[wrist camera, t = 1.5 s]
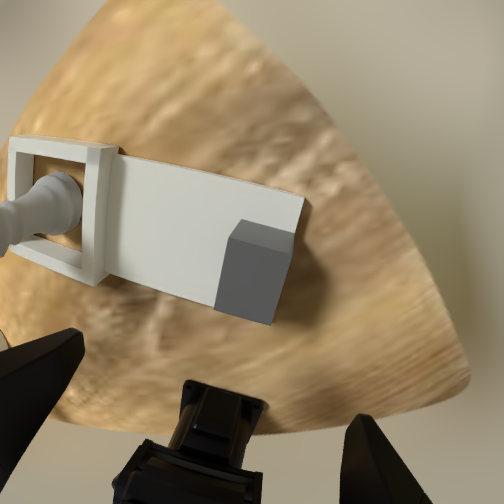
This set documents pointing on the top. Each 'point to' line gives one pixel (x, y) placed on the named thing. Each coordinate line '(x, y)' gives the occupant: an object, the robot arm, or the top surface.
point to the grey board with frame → (167, 227)
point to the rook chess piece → (41, 210)
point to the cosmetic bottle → (3, 343)
